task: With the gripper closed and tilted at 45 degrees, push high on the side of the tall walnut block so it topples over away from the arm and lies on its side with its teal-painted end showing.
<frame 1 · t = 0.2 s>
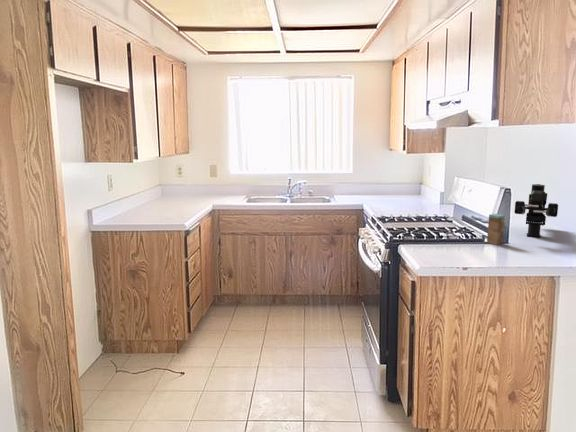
hand: (535, 212, 236), 16 cm above the counter, tool horizontal, fingers open, 9 cm apart
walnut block: (494, 243, 244), on the counter
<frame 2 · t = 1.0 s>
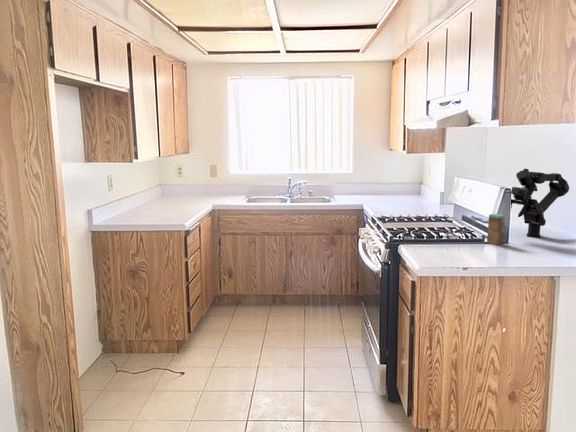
hand: (511, 215, 247), 13 cm above the counter, tool tilted 45°, fingers open, 7 cm apart
nothing on the counter moved.
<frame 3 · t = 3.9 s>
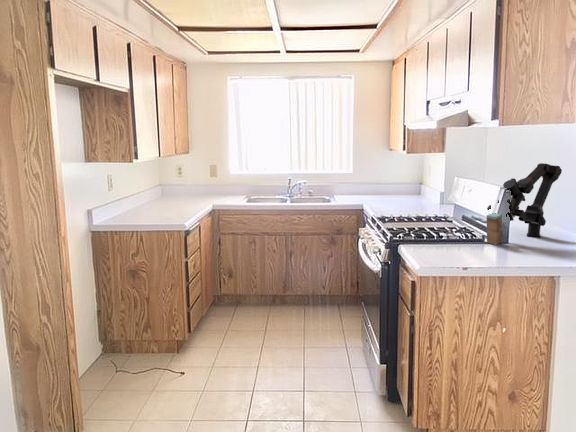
hand: (498, 225, 243), 8 cm above the counter, tool tilted 45°, fingers closed
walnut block: (494, 242, 244), on the counter, tilted 8°
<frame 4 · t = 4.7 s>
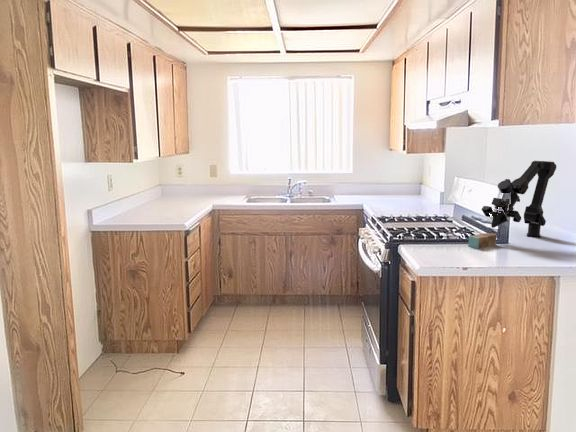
hand: (492, 227, 241), 8 cm above the counter, tool tilted 45°, fingers closed
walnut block: (491, 238, 242), point 2 cm above the counter, tilted 90°
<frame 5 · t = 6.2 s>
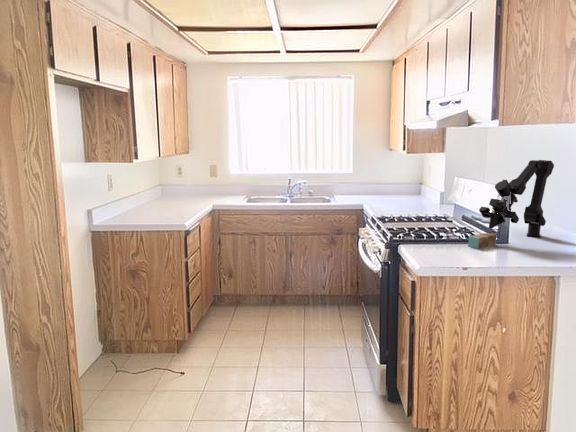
hand: (489, 228, 240), 8 cm above the counter, tool tilted 45°, fingers closed
nothing on the counter moved.
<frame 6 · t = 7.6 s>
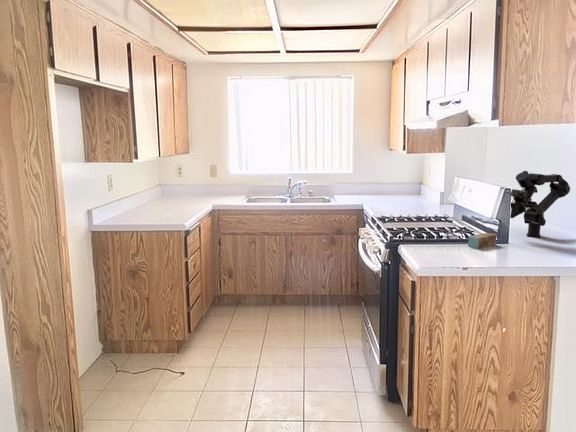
hand: (511, 217, 248), 11 cm above the counter, tool tilted 45°, fingers closed
nothing on the counter moved.
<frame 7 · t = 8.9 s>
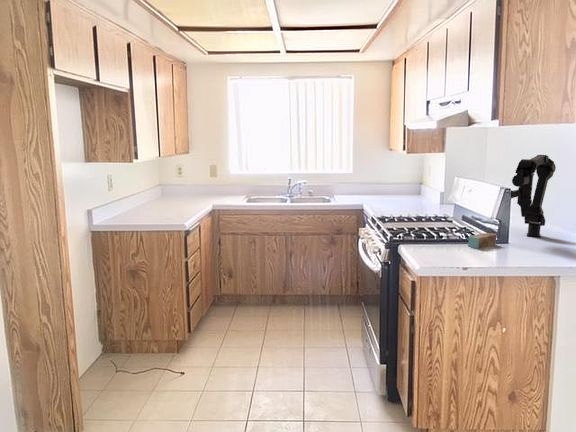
hand: (522, 216, 247), 12 cm above the counter, tool pointing down, fingers closed
nothing on the counter moved.
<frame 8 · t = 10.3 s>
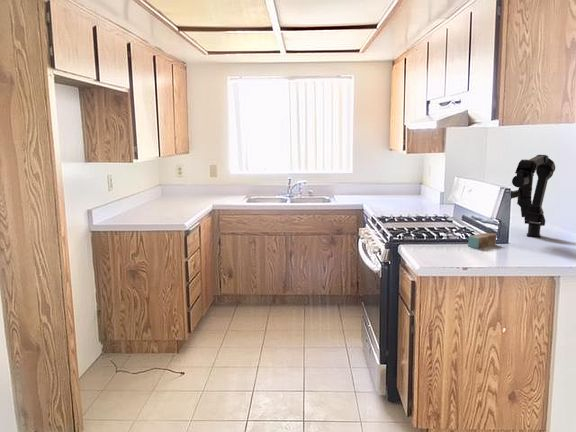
hand: (522, 217, 247), 12 cm above the counter, tool pointing down, fingers closed
nothing on the counter moved.
at the end: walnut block tilted 90°; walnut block point 2.4 cm above the counter; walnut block inside the target area (4.0 cm from its centre), point 2.4 cm above the counter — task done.
